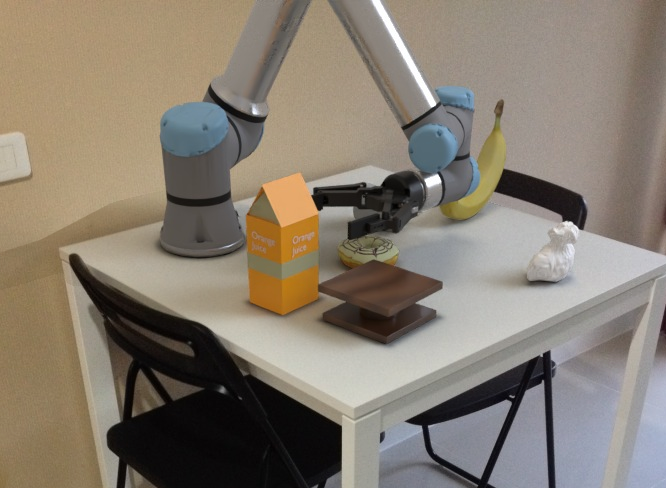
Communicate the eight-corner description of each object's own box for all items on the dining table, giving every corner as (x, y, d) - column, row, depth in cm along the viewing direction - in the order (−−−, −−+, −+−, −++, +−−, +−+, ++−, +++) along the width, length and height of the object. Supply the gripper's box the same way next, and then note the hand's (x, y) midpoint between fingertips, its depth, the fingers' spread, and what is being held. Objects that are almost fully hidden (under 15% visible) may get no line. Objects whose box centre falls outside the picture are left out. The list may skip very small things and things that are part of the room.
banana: (454, 232, 188) (463, 124, 176) (428, 226, 191) (435, 119, 179) (507, 201, 203) (518, 100, 191) (482, 196, 206) (492, 95, 194)
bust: (531, 300, 168) (574, 261, 159) (505, 265, 169) (546, 224, 160) (567, 280, 176) (610, 241, 167) (542, 246, 176) (583, 206, 167)
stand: (317, 320, 155) (317, 284, 152) (372, 293, 164) (373, 259, 161) (387, 346, 148) (388, 309, 145) (440, 316, 157) (443, 281, 153)
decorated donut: (376, 279, 169) (377, 258, 167) (326, 264, 174) (326, 244, 172) (408, 260, 176) (409, 240, 174) (359, 247, 181) (360, 227, 179)
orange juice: (248, 302, 160) (243, 179, 149) (285, 286, 166) (283, 166, 154) (283, 315, 156) (280, 190, 144) (320, 299, 162) (320, 177, 150)
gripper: (462, 232, 166) (373, 264, 154) (359, 196, 180) (271, 222, 168) (465, 188, 161) (375, 217, 149) (360, 154, 176) (270, 178, 164)
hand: (320, 220), depth 159 cm, fingers open, 13 cm apart
